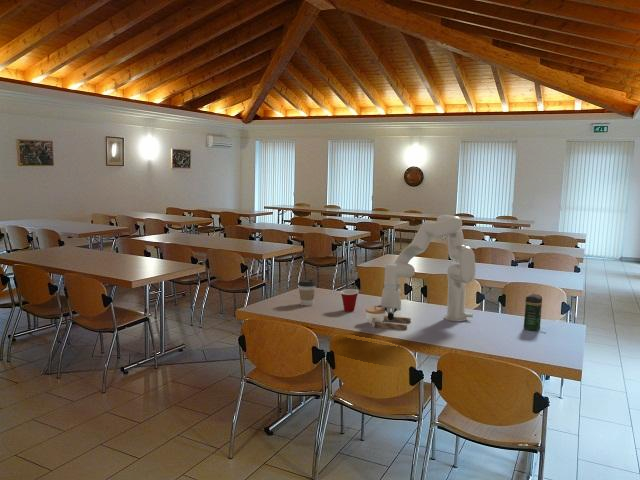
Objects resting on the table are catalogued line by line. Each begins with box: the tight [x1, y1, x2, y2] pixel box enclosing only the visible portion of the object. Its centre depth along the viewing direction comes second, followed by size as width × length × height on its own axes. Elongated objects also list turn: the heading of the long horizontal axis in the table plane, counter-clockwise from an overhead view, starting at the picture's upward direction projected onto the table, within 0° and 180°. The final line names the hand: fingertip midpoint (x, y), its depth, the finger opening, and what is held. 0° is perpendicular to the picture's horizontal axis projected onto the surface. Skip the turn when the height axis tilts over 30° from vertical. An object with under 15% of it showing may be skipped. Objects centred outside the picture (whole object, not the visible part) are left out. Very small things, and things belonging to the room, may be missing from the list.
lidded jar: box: [365, 305, 386, 325], centre depth 301 cm, size 11×11×9 cm
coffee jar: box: [523, 293, 543, 332], centre depth 294 cm, size 10×8×19 cm
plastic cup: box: [339, 288, 359, 313], centre depth 327 cm, size 11×11×12 cm
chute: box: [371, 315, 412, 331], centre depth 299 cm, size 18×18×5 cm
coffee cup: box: [297, 278, 317, 306], centre depth 341 cm, size 11×11×15 cm
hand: (390, 320), depth 300 cm, fingers closed
